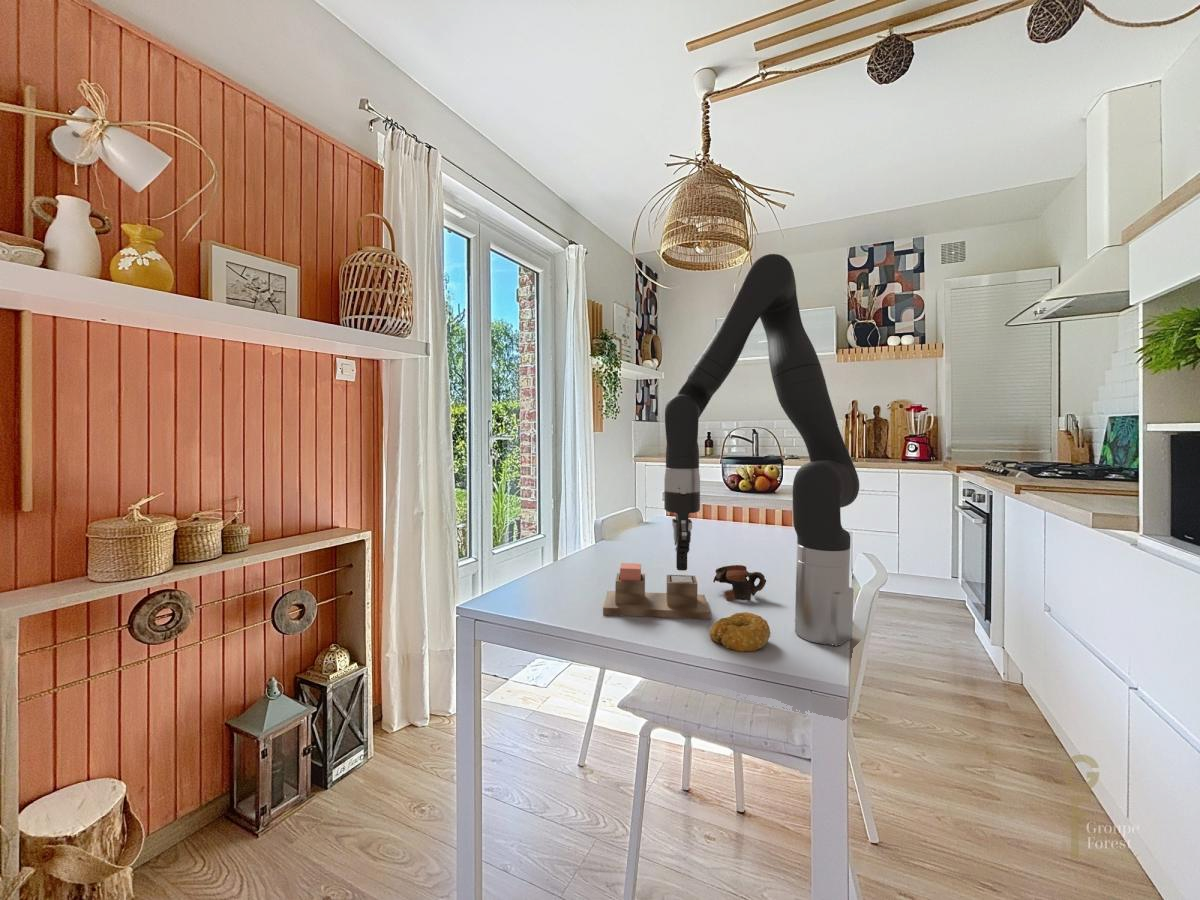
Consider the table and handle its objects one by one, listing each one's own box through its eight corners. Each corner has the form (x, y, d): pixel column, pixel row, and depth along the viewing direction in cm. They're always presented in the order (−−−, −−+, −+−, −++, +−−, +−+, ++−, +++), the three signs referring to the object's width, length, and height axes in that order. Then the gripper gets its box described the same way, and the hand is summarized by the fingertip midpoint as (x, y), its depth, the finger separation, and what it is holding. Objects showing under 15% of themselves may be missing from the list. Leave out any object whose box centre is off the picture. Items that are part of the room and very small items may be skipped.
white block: (690, 598, 115) (691, 576, 115) (692, 605, 111) (692, 582, 110) (670, 598, 115) (671, 575, 115) (671, 604, 111) (671, 581, 111)
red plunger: (640, 585, 116) (641, 563, 116) (640, 592, 111) (640, 569, 111) (621, 585, 116) (621, 562, 116) (619, 591, 112) (620, 568, 112)
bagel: (712, 628, 103) (713, 604, 103) (771, 636, 99) (772, 611, 99) (704, 648, 94) (705, 622, 93) (768, 658, 90) (769, 631, 90)
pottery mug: (713, 602, 119) (708, 567, 123) (722, 609, 126) (716, 575, 130) (767, 595, 115) (760, 558, 118) (773, 602, 122) (765, 567, 126)
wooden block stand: (704, 601, 118) (704, 572, 118) (709, 619, 107) (710, 587, 107) (607, 597, 120) (607, 569, 120) (603, 614, 109) (603, 583, 109)
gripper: (663, 485, 118) (662, 561, 119) (665, 492, 105) (665, 577, 106) (696, 486, 118) (696, 562, 118) (703, 492, 104) (703, 578, 105)
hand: (681, 569), depth 112 cm, fingers closed
